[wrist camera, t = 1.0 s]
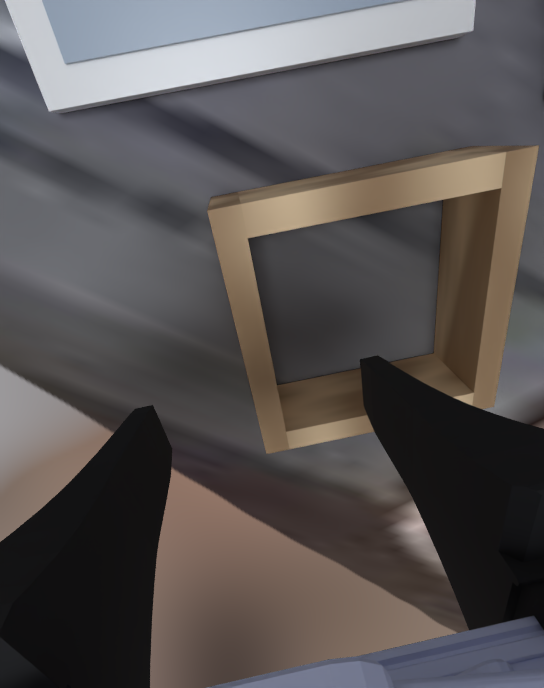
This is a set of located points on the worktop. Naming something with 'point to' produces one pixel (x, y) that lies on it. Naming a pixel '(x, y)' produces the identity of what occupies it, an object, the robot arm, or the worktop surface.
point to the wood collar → (453, 281)
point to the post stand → (209, 40)
